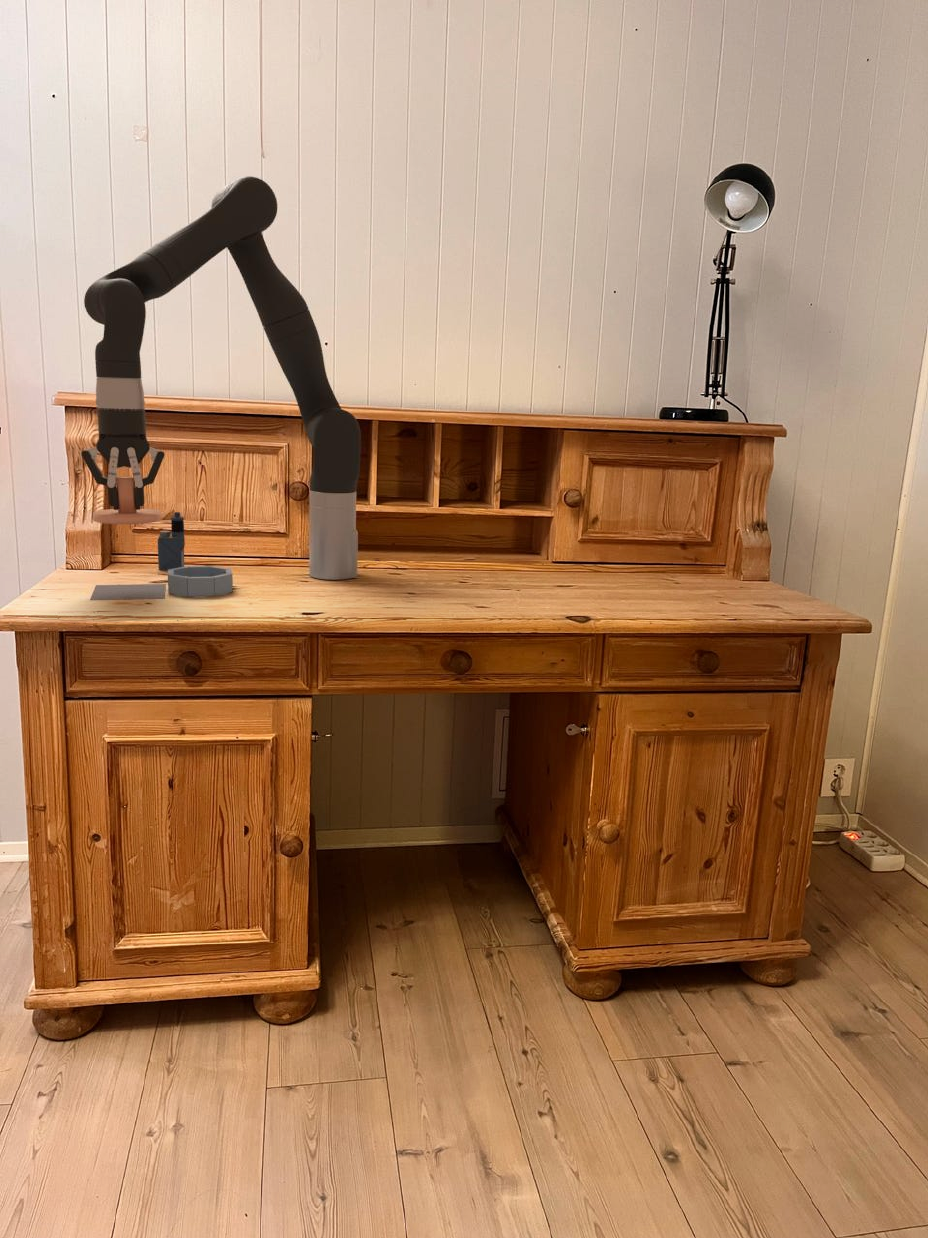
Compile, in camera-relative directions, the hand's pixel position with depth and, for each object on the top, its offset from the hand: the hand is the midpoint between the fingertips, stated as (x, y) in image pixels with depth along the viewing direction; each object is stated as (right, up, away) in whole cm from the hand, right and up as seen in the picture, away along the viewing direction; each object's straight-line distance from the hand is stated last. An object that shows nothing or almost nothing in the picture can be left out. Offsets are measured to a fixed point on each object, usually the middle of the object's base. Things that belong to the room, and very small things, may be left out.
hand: (127, 508), depth 154 cm
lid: (0, -2, 0) cm, 2 cm away
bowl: (+10, -14, +7) cm, 19 cm away
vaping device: (0, -10, +24) cm, 26 cm away
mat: (-1, -15, +4) cm, 15 cm away
